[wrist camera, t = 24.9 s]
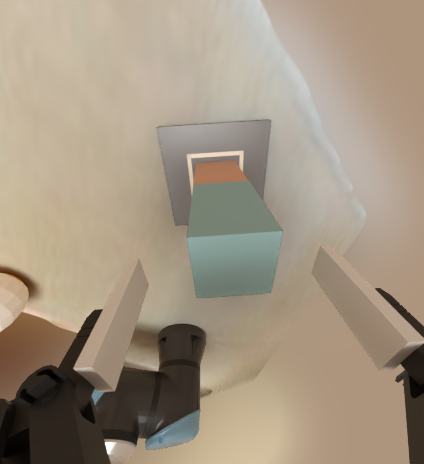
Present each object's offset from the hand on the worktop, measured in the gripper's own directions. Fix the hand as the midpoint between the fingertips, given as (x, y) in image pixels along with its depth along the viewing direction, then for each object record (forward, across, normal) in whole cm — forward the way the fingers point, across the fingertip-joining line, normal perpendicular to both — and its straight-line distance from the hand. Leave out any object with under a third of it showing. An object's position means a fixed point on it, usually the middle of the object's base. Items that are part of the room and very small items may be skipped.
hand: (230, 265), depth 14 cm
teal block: (+9, 0, 0) cm, 9 cm away
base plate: (+21, 0, 0) cm, 21 cm away
